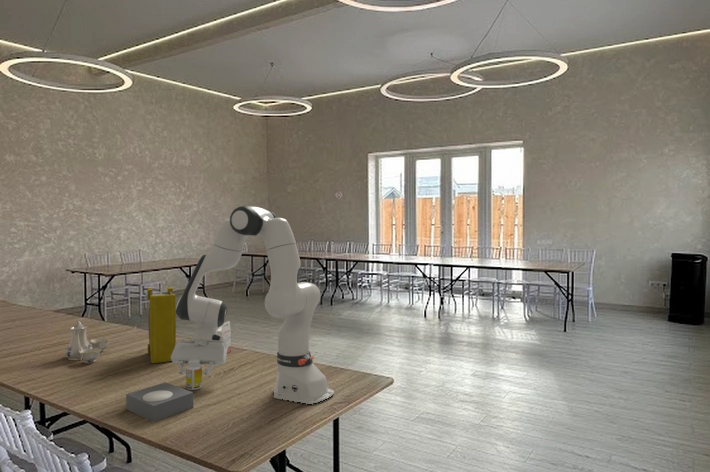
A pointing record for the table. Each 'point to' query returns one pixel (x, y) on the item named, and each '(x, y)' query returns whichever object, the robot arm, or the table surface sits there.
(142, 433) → the table surface
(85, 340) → the chinaware
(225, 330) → the ink cartridge box
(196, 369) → the supplement bottle
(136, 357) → the table surface
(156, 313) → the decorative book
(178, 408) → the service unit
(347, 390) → the table surface
